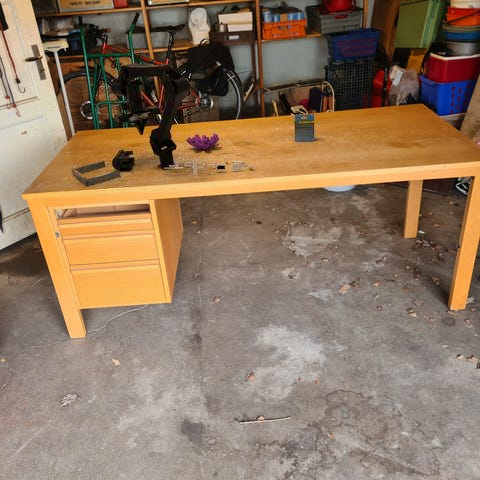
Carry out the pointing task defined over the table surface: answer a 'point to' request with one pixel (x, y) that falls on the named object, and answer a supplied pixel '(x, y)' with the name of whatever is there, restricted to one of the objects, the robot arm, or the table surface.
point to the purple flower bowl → (203, 141)
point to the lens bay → (97, 179)
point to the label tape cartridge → (304, 128)
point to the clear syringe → (236, 166)
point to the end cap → (123, 161)
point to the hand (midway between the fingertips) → (141, 134)
